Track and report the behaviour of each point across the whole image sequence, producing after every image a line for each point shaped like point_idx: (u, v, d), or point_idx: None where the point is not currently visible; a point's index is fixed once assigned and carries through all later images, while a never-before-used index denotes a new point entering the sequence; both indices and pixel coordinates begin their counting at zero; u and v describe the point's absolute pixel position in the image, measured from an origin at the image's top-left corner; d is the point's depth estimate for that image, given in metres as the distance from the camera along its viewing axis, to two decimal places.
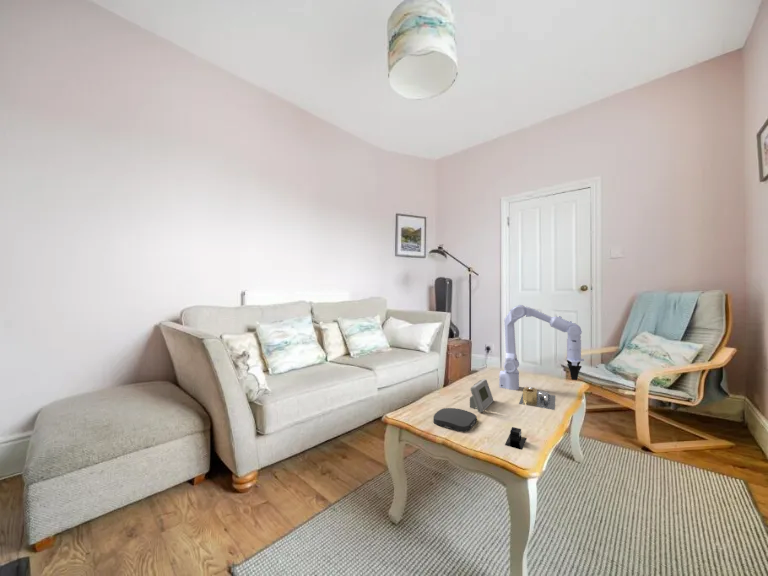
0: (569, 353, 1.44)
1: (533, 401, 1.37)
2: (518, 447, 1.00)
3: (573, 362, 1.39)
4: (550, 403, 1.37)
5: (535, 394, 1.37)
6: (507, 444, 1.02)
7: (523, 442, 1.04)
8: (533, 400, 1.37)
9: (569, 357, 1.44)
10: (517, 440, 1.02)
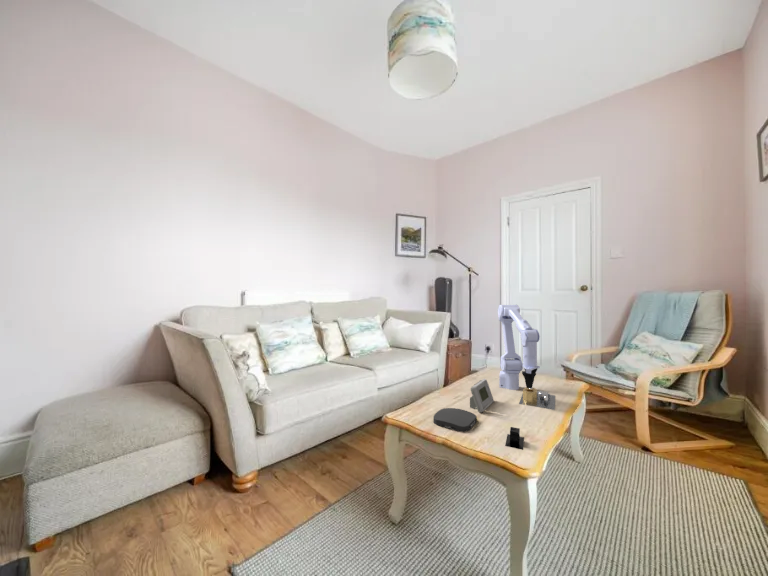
0: (524, 360, 1.39)
1: (533, 401, 1.37)
2: (519, 447, 1.00)
3: (527, 370, 1.33)
4: (550, 403, 1.37)
5: (535, 394, 1.37)
6: (507, 444, 1.02)
7: (522, 441, 1.04)
8: (533, 400, 1.37)
9: (524, 364, 1.39)
10: (517, 440, 1.02)
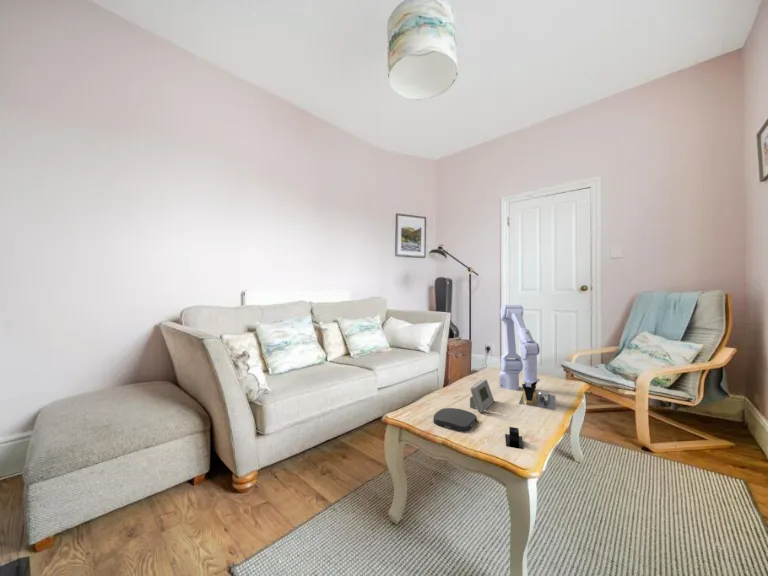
0: (524, 373, 1.39)
1: (533, 401, 1.37)
2: (519, 447, 1.01)
3: (527, 383, 1.33)
4: (550, 403, 1.37)
5: (535, 394, 1.37)
6: (508, 445, 1.02)
7: (521, 441, 1.04)
8: (533, 400, 1.37)
9: (524, 377, 1.39)
10: (517, 440, 1.02)
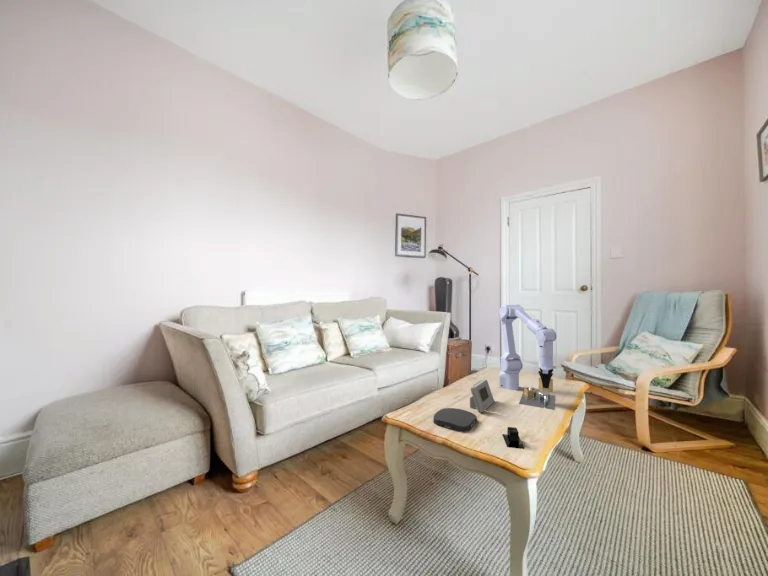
0: (541, 360, 1.36)
1: (549, 389, 1.34)
2: (520, 447, 1.01)
3: (544, 370, 1.31)
4: (550, 403, 1.37)
5: (551, 382, 1.35)
6: (509, 445, 1.01)
7: (519, 440, 1.05)
8: (549, 388, 1.34)
9: (541, 364, 1.36)
10: (517, 440, 1.03)
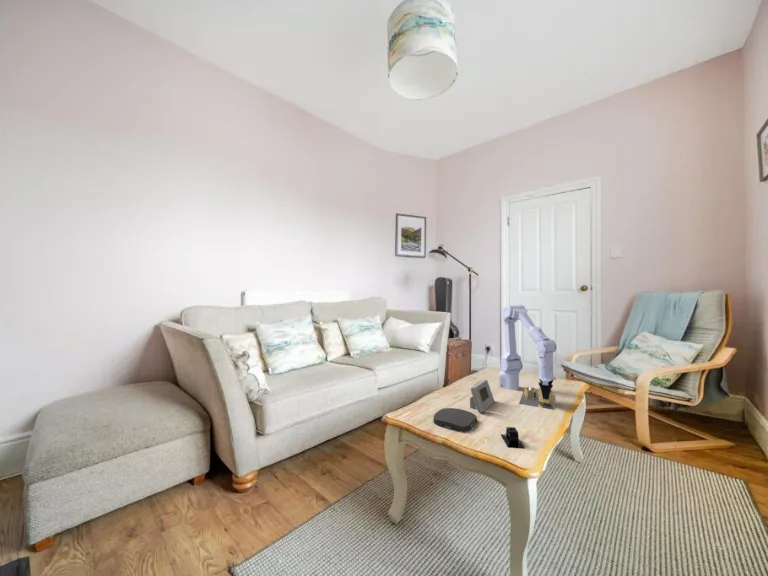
0: (541, 371, 1.36)
1: (549, 401, 1.34)
2: (520, 446, 1.01)
3: (544, 381, 1.31)
4: (550, 403, 1.37)
5: (551, 393, 1.35)
6: (509, 446, 1.01)
7: (518, 440, 1.05)
8: (549, 400, 1.34)
9: (541, 375, 1.36)
10: (516, 439, 1.03)
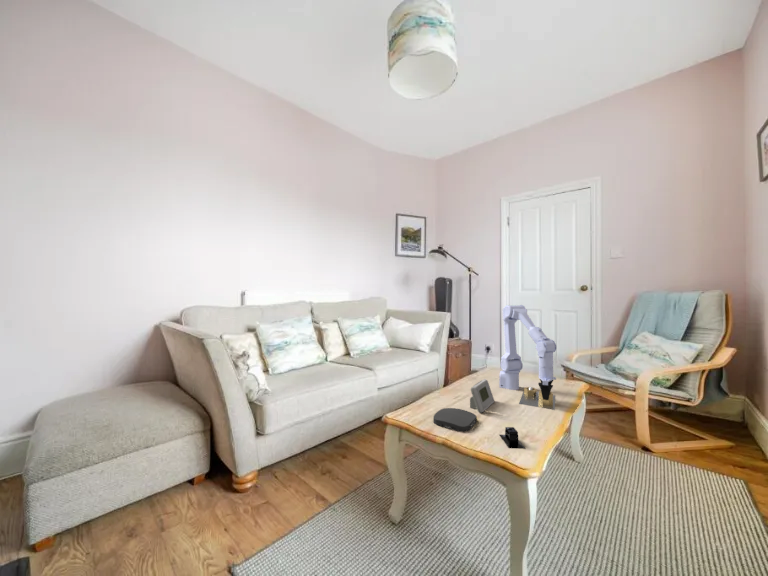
0: (541, 371, 1.36)
1: (549, 403, 1.34)
2: (520, 446, 1.01)
3: (544, 381, 1.31)
4: None
5: (551, 395, 1.35)
6: (510, 446, 1.01)
7: (517, 440, 1.05)
8: (549, 402, 1.34)
9: (541, 375, 1.36)
10: (516, 439, 1.03)
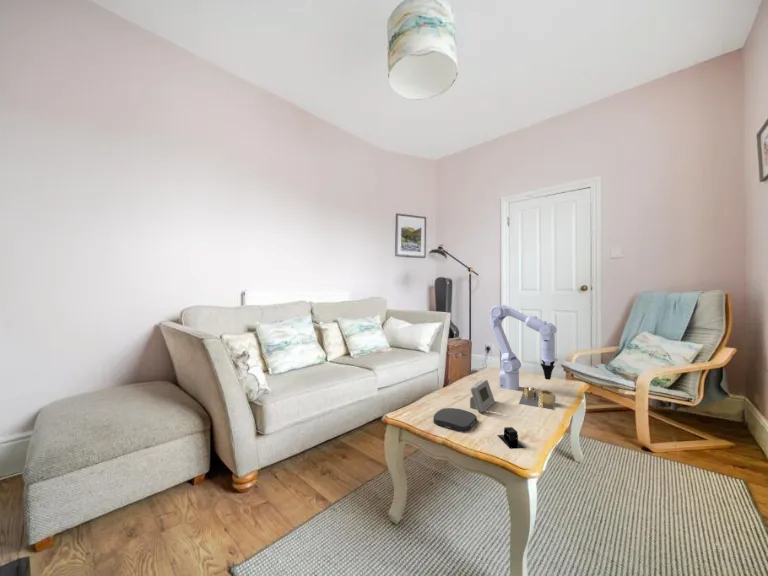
0: (543, 353, 1.46)
1: (549, 403, 1.34)
2: (521, 446, 1.01)
3: (546, 362, 1.40)
4: None
5: (551, 395, 1.35)
6: (511, 446, 1.01)
7: None
8: (549, 402, 1.34)
9: (543, 357, 1.46)
10: (516, 439, 1.03)
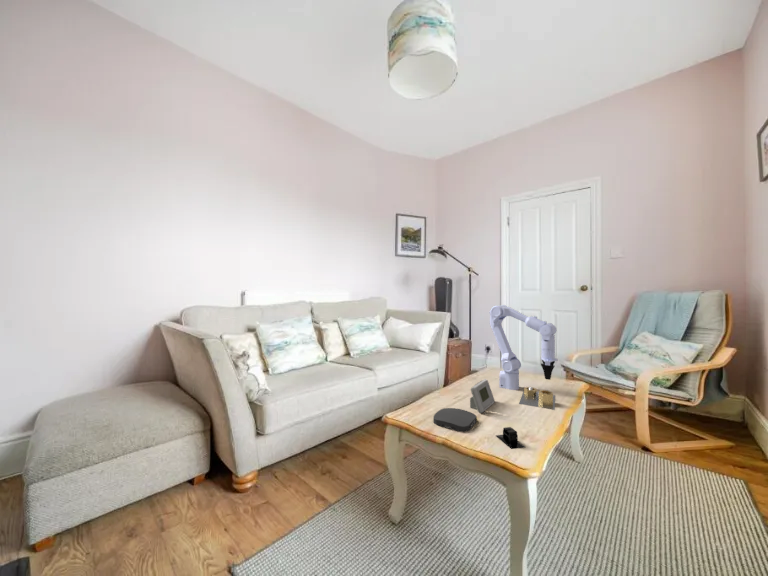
0: (543, 353, 1.46)
1: (549, 403, 1.34)
2: (521, 446, 1.01)
3: (546, 362, 1.40)
4: None
5: (551, 395, 1.35)
6: (511, 447, 1.01)
7: None
8: (549, 402, 1.34)
9: (543, 357, 1.46)
10: (516, 439, 1.03)
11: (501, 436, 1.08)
